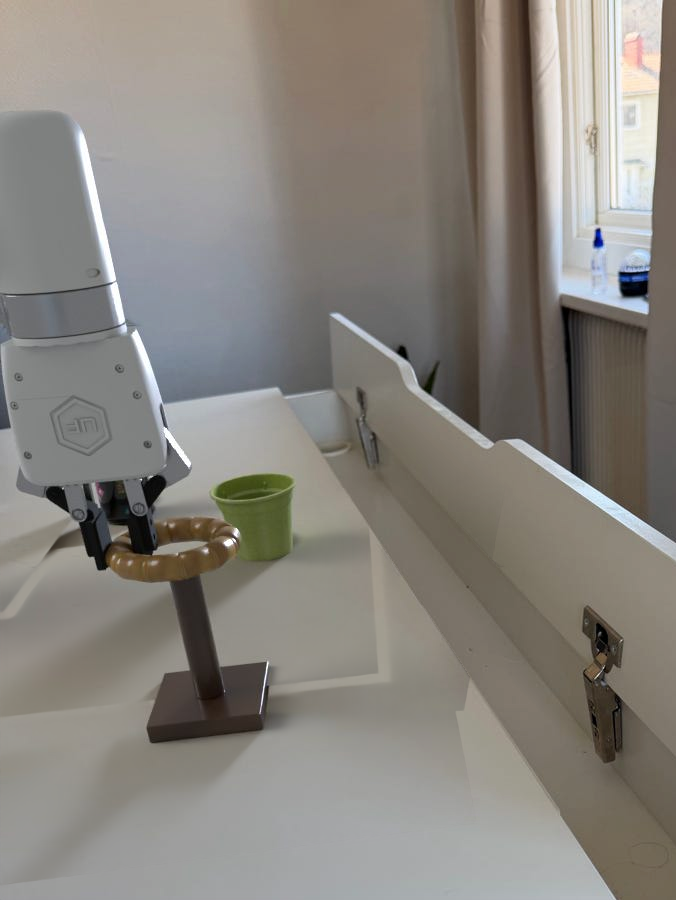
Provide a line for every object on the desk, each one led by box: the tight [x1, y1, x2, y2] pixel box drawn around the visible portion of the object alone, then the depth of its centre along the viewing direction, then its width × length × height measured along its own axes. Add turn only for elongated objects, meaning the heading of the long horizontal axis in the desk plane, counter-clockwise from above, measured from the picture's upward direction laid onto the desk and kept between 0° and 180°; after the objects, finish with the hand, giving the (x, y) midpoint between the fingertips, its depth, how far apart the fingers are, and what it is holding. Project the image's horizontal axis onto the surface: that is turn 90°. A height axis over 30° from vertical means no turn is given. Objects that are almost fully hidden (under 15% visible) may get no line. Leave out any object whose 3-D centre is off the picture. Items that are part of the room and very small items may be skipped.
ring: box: [105, 515, 241, 584], centre depth 76 cm, size 10×10×2 cm
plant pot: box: [209, 472, 297, 563], centre depth 110 cm, size 9×9×9 cm
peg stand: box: [145, 575, 270, 743], centre depth 79 cm, size 9×9×12 cm
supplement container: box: [93, 480, 156, 525], centre depth 125 cm, size 7×7×10 cm
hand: (126, 560), depth 76 cm, fingers closed on ring, 2 cm apart
